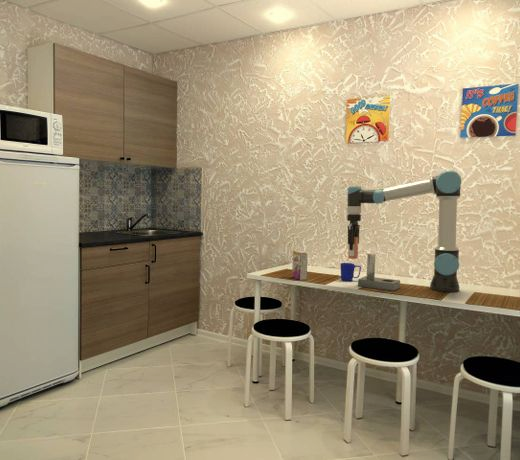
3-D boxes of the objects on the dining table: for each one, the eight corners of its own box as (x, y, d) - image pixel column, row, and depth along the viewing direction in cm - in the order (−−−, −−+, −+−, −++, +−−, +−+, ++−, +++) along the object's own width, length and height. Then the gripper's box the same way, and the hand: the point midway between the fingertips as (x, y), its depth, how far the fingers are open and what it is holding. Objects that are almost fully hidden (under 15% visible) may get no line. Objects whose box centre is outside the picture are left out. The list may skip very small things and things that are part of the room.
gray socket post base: (399, 287, 258) (401, 255, 257) (393, 290, 248) (395, 257, 247) (365, 283, 269) (366, 252, 267) (357, 286, 258) (359, 254, 257)
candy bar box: (291, 277, 282) (292, 250, 281) (298, 276, 284) (299, 250, 283) (299, 280, 272) (300, 252, 270) (307, 280, 274) (308, 252, 272)
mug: (360, 282, 270) (361, 265, 270) (339, 281, 273) (340, 264, 272) (360, 279, 278) (360, 263, 278) (340, 278, 281) (340, 262, 280)
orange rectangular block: (357, 258, 260) (358, 237, 259) (355, 258, 256) (355, 237, 256) (350, 257, 262) (351, 236, 261) (348, 258, 259) (348, 237, 258)
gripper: (353, 213, 267) (352, 253, 268) (341, 214, 252) (341, 256, 254) (365, 213, 263) (364, 254, 264) (355, 214, 248) (354, 257, 250)
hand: (353, 255), depth 259 cm, fingers closed on orange rectangular block, 4 cm apart
